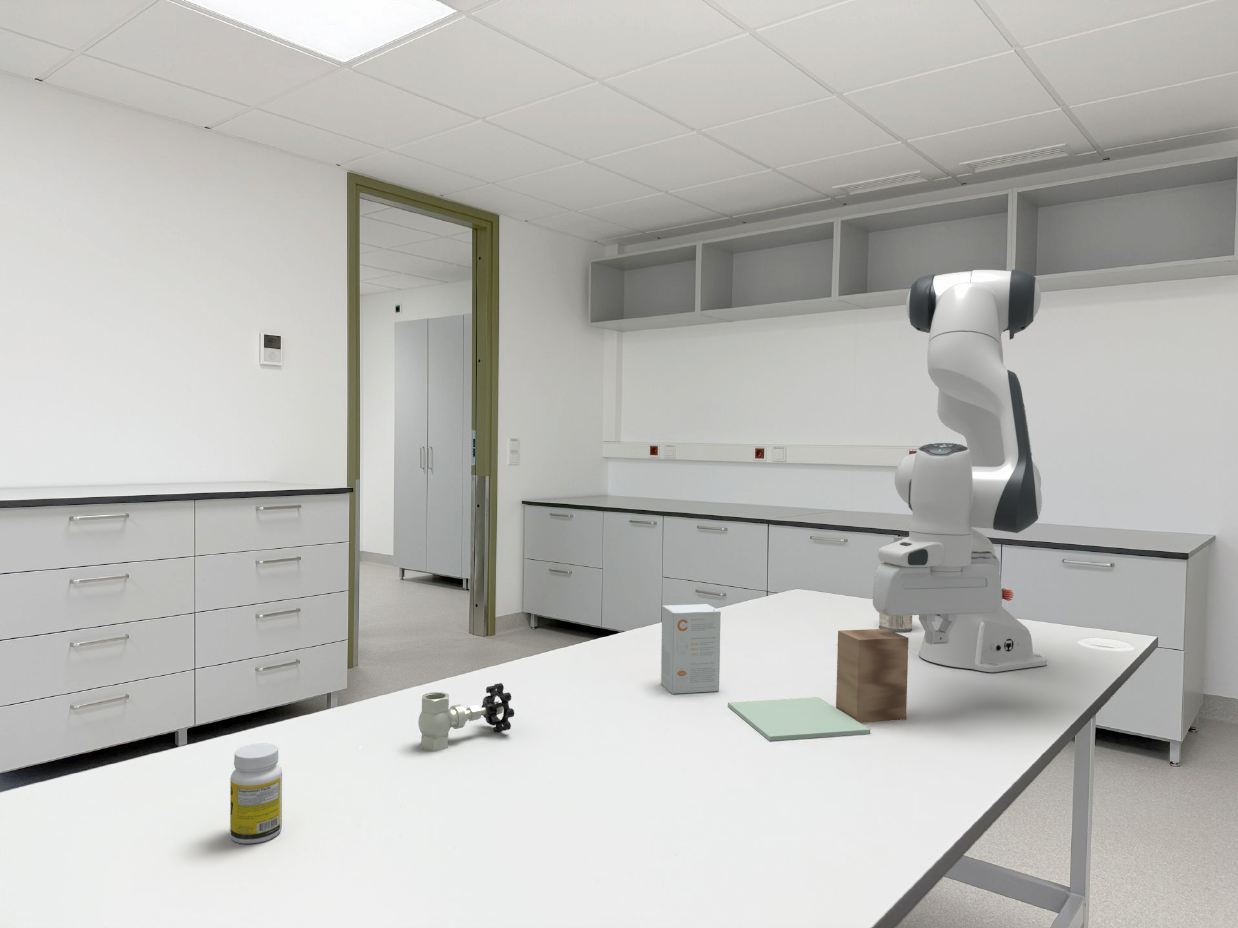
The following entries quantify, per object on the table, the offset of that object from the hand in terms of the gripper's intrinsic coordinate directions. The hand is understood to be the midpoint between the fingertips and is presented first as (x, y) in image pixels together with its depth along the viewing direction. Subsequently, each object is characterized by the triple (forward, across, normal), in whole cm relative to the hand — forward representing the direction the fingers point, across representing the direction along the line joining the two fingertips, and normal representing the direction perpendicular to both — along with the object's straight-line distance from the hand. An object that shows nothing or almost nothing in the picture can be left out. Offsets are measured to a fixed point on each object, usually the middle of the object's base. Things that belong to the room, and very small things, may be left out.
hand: (936, 643), depth 128 cm
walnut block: (+10, +11, 0) cm, 15 cm away
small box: (+10, +33, -18) cm, 39 cm away
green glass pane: (+10, +23, 0) cm, 25 cm away
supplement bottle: (+11, +92, +22) cm, 95 cm away
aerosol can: (+10, -26, -52) cm, 59 cm away
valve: (+11, +70, -1) cm, 71 cm away
